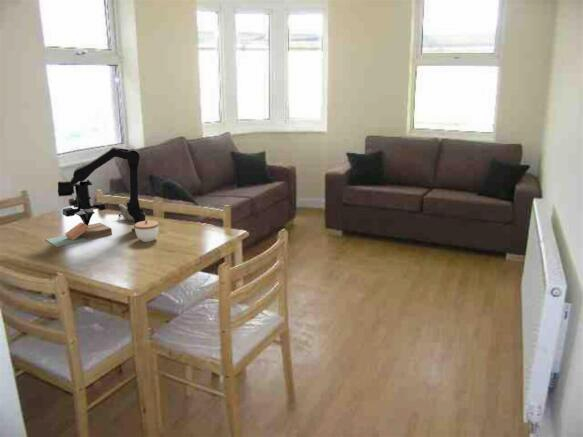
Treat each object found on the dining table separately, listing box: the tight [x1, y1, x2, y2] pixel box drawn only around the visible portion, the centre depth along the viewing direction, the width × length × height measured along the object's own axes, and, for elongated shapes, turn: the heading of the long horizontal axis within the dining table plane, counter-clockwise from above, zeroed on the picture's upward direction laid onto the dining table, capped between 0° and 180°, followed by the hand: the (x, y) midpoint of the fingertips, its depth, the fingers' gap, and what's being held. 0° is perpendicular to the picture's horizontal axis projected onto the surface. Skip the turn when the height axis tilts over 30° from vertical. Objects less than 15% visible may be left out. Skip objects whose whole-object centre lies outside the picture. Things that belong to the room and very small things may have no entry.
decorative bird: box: [118, 203, 133, 221], centre depth 283 cm, size 5×16×7 cm, turn 47°
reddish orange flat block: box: [64, 222, 89, 240], centre depth 254 cm, size 6×9×2 cm, turn 137°
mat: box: [45, 234, 88, 248], centre depth 252 cm, size 14×14×1 cm
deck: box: [80, 222, 113, 241], centre depth 260 cm, size 13×12×3 cm
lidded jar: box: [133, 219, 160, 243], centre depth 250 cm, size 11×11×9 cm
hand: (86, 226), depth 258 cm, fingers closed
